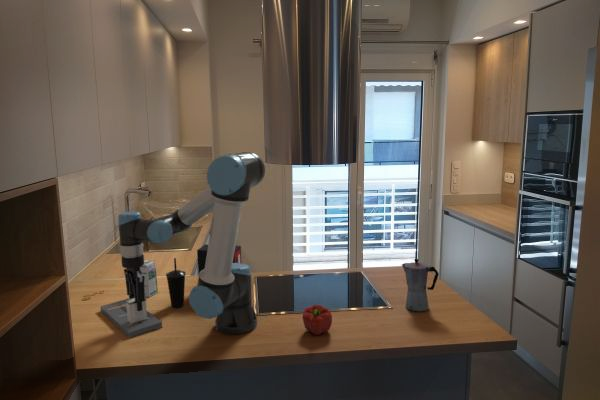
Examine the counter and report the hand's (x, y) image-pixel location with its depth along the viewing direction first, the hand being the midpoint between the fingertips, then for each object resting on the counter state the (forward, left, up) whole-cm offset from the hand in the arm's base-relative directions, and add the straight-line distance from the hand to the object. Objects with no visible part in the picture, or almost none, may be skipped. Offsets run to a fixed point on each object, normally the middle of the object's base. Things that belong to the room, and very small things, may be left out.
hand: (137, 316), depth 160 cm
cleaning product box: (+8, -40, -4) cm, 41 cm away
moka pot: (-60, -89, -4) cm, 107 cm away
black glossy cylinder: (+7, -19, -4) cm, 21 cm away
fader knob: (0, 0, -1) cm, 1 cm away
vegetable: (-48, -45, -4) cm, 66 cm away
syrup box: (+27, -15, -4) cm, 31 cm away
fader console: (+8, 0, -4) cm, 9 cm away
